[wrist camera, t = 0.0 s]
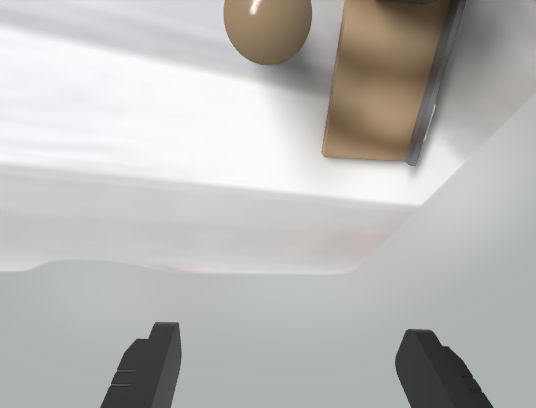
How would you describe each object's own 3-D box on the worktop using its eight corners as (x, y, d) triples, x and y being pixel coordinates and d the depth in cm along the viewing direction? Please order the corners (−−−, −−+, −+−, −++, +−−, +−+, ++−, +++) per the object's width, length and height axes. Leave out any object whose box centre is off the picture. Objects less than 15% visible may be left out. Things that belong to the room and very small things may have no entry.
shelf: (354, -64, 29) (365, -76, 26) (466, -53, 29) (489, -64, 26) (321, 152, 38) (326, 161, 35) (406, 157, 39) (418, 166, 36)
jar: (228, 43, 32) (211, 42, 21) (248, -17, 30) (243, -59, 18) (277, 68, 34) (288, 79, 22) (301, 11, 31) (327, -11, 19)
